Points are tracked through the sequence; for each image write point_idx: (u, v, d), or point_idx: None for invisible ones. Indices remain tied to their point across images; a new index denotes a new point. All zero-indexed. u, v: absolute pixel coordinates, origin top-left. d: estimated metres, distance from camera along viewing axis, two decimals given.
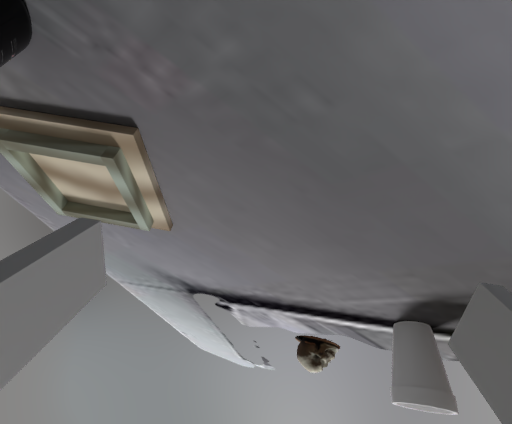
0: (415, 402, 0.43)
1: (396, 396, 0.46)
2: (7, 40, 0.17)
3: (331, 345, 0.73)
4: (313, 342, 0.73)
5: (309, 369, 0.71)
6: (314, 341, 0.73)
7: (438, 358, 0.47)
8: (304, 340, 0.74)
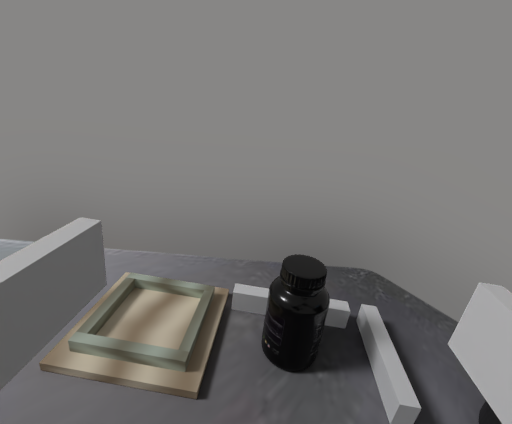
0: None
1: None
2: (280, 351, 0.30)
3: None
4: None
5: None
6: None
7: None
8: None
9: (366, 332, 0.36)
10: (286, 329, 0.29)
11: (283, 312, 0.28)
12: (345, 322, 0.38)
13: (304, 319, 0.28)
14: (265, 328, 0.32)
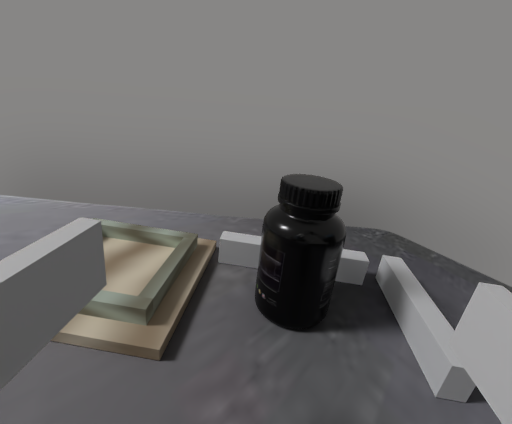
0: None
1: None
2: (279, 300, 0.22)
3: None
4: None
5: None
6: None
7: None
8: None
9: (391, 286, 0.28)
10: (286, 267, 0.21)
11: (282, 242, 0.20)
12: (362, 276, 0.30)
13: (312, 250, 0.20)
14: (259, 273, 0.24)
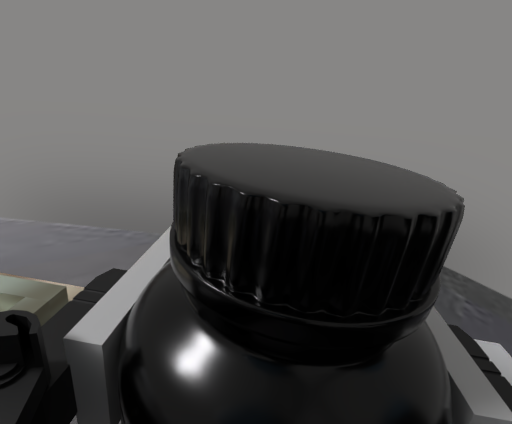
0: None
1: None
2: None
3: None
4: None
5: None
6: None
7: None
8: None
9: None
10: None
11: None
12: None
13: None
14: None
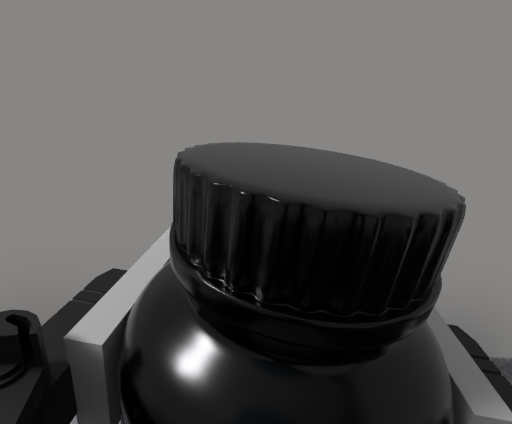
0: None
1: None
2: None
3: None
4: None
5: None
6: None
7: None
8: None
9: None
10: None
11: None
12: None
13: None
14: None
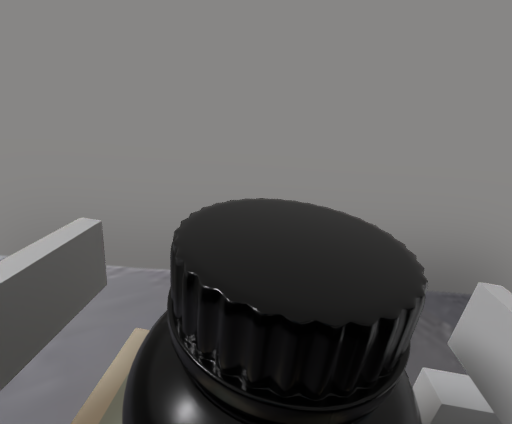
0: None
1: None
2: None
3: None
4: None
5: None
6: None
7: None
8: None
9: None
10: None
11: None
12: None
13: None
14: None
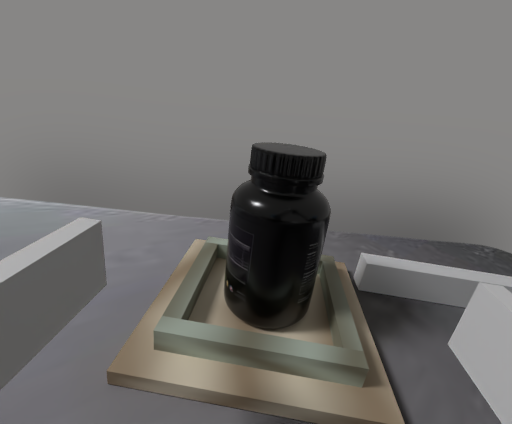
0: None
1: None
2: (248, 293, 0.18)
3: None
4: None
5: None
6: None
7: None
8: None
9: None
10: (256, 252, 0.17)
11: (251, 221, 0.16)
12: None
13: (286, 230, 0.16)
14: (227, 261, 0.20)
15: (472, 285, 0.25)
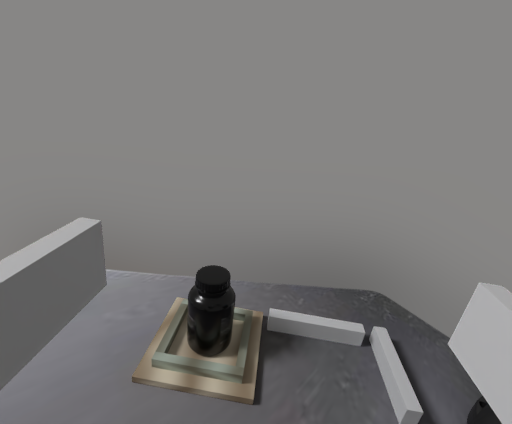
0: None
1: None
2: (195, 340, 0.39)
3: None
4: None
5: None
6: None
7: None
8: None
9: (378, 350, 0.44)
10: (197, 323, 0.38)
11: (194, 310, 0.37)
12: (360, 341, 0.46)
13: (209, 315, 0.37)
14: (187, 323, 0.41)
15: (326, 328, 0.46)
